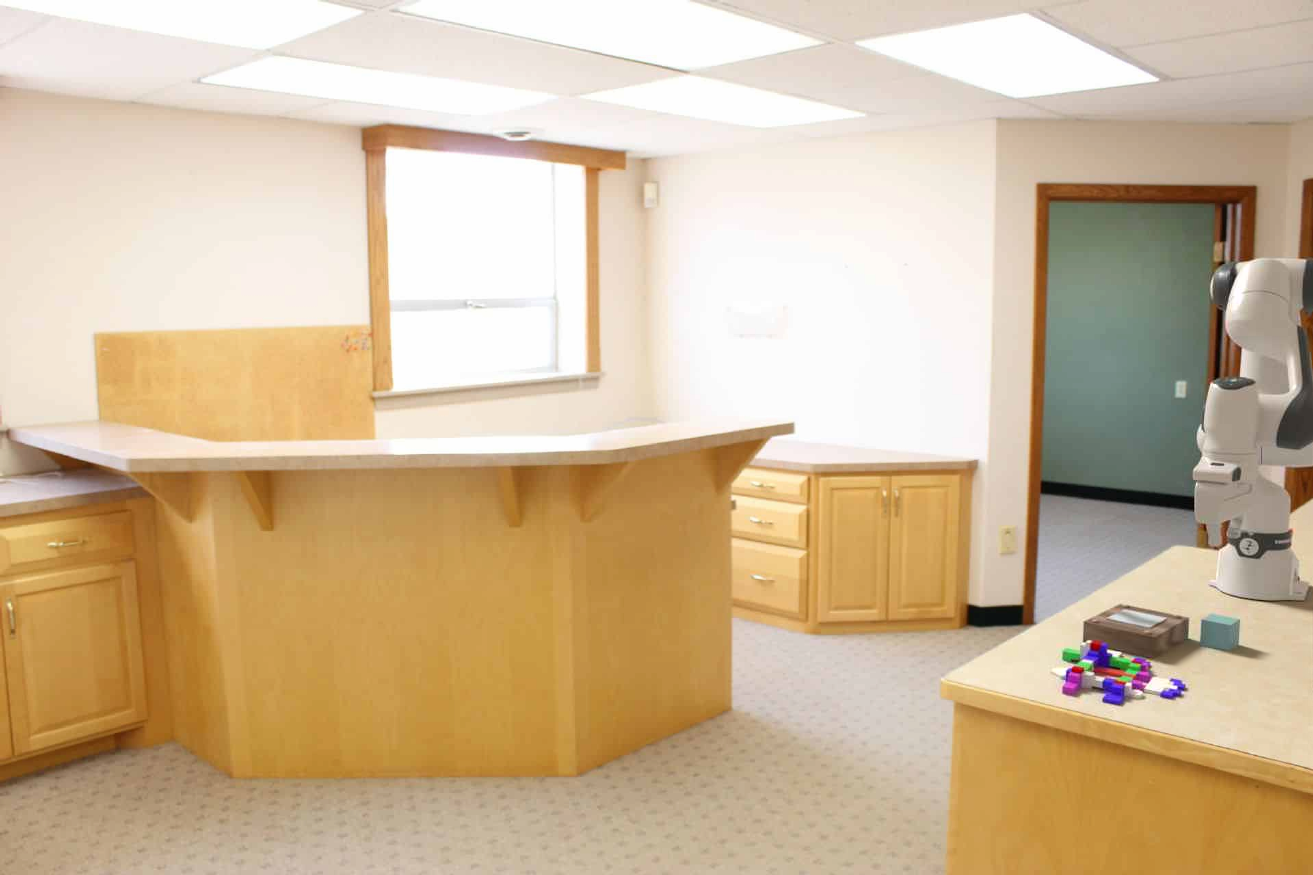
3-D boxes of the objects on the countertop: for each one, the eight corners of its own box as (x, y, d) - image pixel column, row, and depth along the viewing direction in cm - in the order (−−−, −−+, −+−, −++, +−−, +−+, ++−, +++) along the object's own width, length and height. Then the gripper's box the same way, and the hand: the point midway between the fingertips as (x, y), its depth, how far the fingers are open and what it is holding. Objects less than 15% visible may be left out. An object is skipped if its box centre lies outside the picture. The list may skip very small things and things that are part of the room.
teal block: (1209, 639, 198) (1211, 613, 198) (1238, 645, 195) (1240, 619, 194) (1199, 645, 195) (1201, 619, 194) (1228, 651, 191) (1230, 625, 191)
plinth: (1119, 623, 208) (1120, 602, 208) (1188, 637, 199) (1189, 615, 198) (1082, 642, 197) (1083, 619, 197) (1153, 658, 188) (1154, 635, 187)
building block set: (1167, 718, 163) (1168, 690, 162) (1033, 690, 175) (1033, 664, 175) (1197, 671, 183) (1199, 646, 182) (1075, 649, 195) (1076, 626, 194)
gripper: (1230, 459, 200) (1226, 530, 202) (1189, 471, 186) (1185, 547, 188) (1267, 462, 195) (1262, 535, 197) (1227, 475, 182) (1222, 553, 183)
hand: (1224, 541), depth 192 cm, fingers open, 8 cm apart
